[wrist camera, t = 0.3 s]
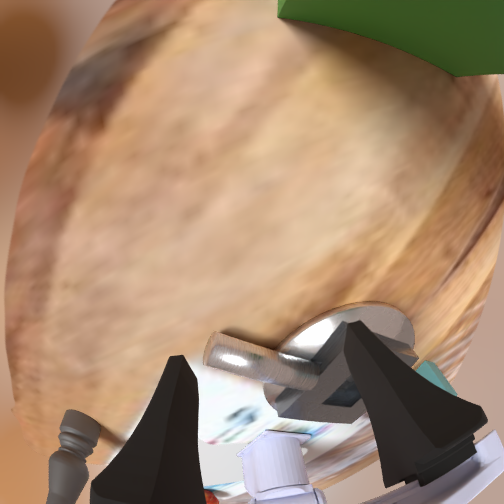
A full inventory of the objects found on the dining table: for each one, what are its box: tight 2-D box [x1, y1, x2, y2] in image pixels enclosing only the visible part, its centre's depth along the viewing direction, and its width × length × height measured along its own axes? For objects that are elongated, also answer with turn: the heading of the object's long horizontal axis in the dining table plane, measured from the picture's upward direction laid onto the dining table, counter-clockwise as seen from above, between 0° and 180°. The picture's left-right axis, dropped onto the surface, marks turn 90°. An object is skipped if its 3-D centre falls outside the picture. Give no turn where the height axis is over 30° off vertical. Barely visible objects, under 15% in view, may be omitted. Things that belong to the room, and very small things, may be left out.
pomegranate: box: [204, 490, 219, 504], centre depth 40 cm, size 7×7×10 cm
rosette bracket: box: [203, 301, 419, 424], centre depth 24 cm, size 18×24×4 cm
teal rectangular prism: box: [416, 360, 457, 396], centre depth 27 cm, size 4×3×7 cm
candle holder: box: [46, 410, 101, 504], centre depth 18 cm, size 6×6×25 cm
